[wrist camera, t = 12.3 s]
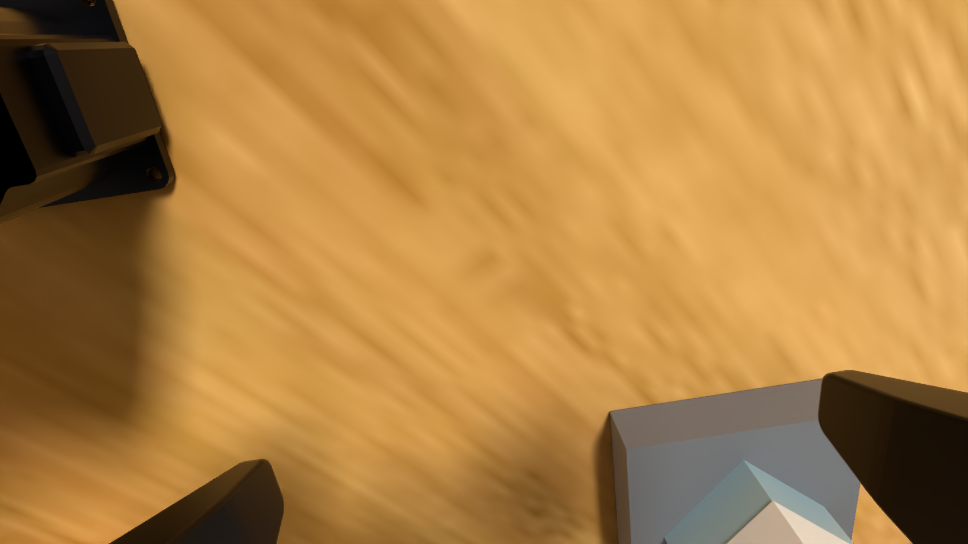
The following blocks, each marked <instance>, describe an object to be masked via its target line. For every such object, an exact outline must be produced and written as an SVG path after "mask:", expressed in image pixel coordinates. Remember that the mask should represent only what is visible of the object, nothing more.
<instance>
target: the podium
mask: <svg viewBox="0 0 968 544" xmlns="http://www.w3.org/2000/svg"><path fill="white" fill-rule="evenodd" d="M821 382H822V379H817V380H811V381H804V382H798V383H791V384H785V385H778V386H772V387H765V388H759V389H752V390H746V391H739V392H733V393H726V394H720V395H713V396H707V397H700V398H694V399H687V400H681V401H674V402H668V403H662V404H655V405H649V406H642V407H636V408H629V409H623V410H616V411H610V420H611V436H612V451H613V467H614V482H615V498H616V513H617V529H618V544H667V542H666V540H665V536H666V535H667V534H668V533H669V532H670V531H671V530H672V529H673V528H674V527H675V526H676V525H677V524H678V523H679V522H680V521H681V520H682V519H683V518H684V517H685V516H686V515H687V514H688V513H689V512H690V511H691V510H692V509H694V508H695V507H696V506H697V505H698V504H699V503H700V502H701V501H702V500H703V499H704V498H705V497H706V496H707V495H708V494H709V493H710V492H711V491H712V490H713V489H714V488H715V487H716V486H717V485H718V484H719V483H720V482H721V481H722V480H723V479H724V478H725V477H726V476H727V475H728V474H729V473H730V472H731V471H732V470H733V469H734V468H735V467H736V466H737V465H738V464H739V463H740V462H741V461H742V460H745V461H747V462H748V463H750V464H752V465H753V466H755V467H757V468H759V469H760V470H762V471H764V472H765V473H767V474H769V475H771V476H772V477H774V478H776V479H778V480H779V481H781V482H783V483H784V484H786V485H788V486H790V487H791V488H793V489H795V490H796V491H798V492H800V493H802V494H803V495H805V496H807V497H808V498H810V499H812V500H814V501H815V502H817V503H819V504H821V505H822V506H824V507H825V508H826V510H827V511H828V512H829V513H830V515H831V516H832V517H833V518H834V519H835V521H836V522H837V523H838V524H839V526H840V527H841V528H842V529H843V531H844V532H845V533H846V534H847V536H848V537H849V538H850V539H852V533H853V526H854V520H855V514H856V507H857V501H858V495H859V488H860V481H859V480H858V479H857V477H856V476H855V475H854V473H853V472H852V471H851V469H850V468H849V467H848V465H847V464H846V463H845V461H844V460H843V459H842V457H841V456H840V455H839V453H838V452H837V451H836V449H835V448H834V447H833V445H832V444H831V443H830V441H829V440H828V439H827V437H826V436H825V435H824V433H823V431H822V430H821V427H820V425H819V421H818V408H819V399H820V390H821Z"/></svg>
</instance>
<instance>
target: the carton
mask: <svg viewBox="0 0 968 544" xmlns="http://www.w3.org/2000/svg"><path fill="white" fill-rule="evenodd" d="M665 540H666V542H667V544H854V543H853V542H852V541H851V539H850V538H849V537H848V536H847V534H846V533H845V532H844V531H843V529H842V528H841V527H840V526H839V524H838V523H837V522H836V521H835V519H834V518H833V517H832V516H831V515H830V513H829V512H828V511H827V510H826V508H825V507H824V506H822V505H821V504H819V503H817V502H815V501H814V500H812V499H810V498H808V497H807V496H805V495H803V494H802V493H800V492H798V491H796V490H795V489H793V488H791V487H790V486H788V485H786V484H784V483H783V482H781V481H779V480H778V479H776V478H774V477H772V476H771V475H769V474H767V473H765V472H764V471H762V470H760V469H759V468H757V467H755V466H753V465H752V464H750V463H748V462H747V461H745V460H742V461H741V462H740V463H739V464H738V465H737V466H736V467H735V468H734V469H733V470H732V471H731V472H730V473H729V474H728V475H727V476H726V477H725V478H724V479H723V480H722V481H721V482H720V483H719V484H718V485H717V486H716V487H715V488H714V489H713V490H712V491H711V492H710V493H709V494H708V495H707V496H706V497H705V498H704V499H703V500H702V501H701V502H700V503H699V504H698V505H697V506H696V507H695V508H694V509H692V510H691V511H690V512H689V513H688V514H687V515H686V516H685V517H684V518H683V519H682V520H681V521H680V522H679V523H678V524H677V525H676V526H675V527H674V528H673V529H672V530H671V531H670V532H669V533H668V534H667V535H666V536H665Z"/></svg>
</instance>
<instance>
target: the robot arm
mask: <svg viewBox="0 0 968 544" xmlns="http://www.w3.org/2000/svg"><path fill="white" fill-rule="evenodd" d="M161 126H162V122H161V120H160V117H159V114H158V111H157V108H156V106H155V103H154V100H153V97H152V94H151V92H150V89H149V86H148V83H147V80H146V78H145V75H144V72H143V69H142V67H141V64H140V61H139V58H138V55H137V53H136V50H135V49H134V48H133V47H132V46H130V45H129V44H128V43H127V40H126V38H125V35H124V32H123V29H122V27H121V24H120V21H119V18H118V16H117V13H116V10H115V7H114V5H113V2H112V0H96V3H95V5H94V6H91V5H89V3H88V2H87V0H0V224H1V223H3V222H5V221H8V220H10V219H13V218H15V217H17V216H20V215H22V214H25V213H27V212H29V211H32V210H34V209H37V208H39V207H46V206H52V205H59V204H65V203H72V202H78V201H85V200H91V199H98V198H104V197H111V196H117V195H124V194H130V193H137V192H143V191H150V190H156V189H161V188H163V187H165V186H167V185H169V184H170V183H171V182H172V181H173V179H174V170H173V167H172V165H171V162H170V159H169V156H168V154H167V151H166V148H165V145H164V143H163V140H162V137H161V134H160V132H159V130H160V128H161ZM152 168H156V169H158V170H159V171H160V173H161V176H162V178H161V179H157V178H155V177H154V176H153V174H152ZM818 421H819V425H820V427H821V430H822V431H823V433H824V435H825V436H826V437H827V439H828V440H829V441H830V443H831V444H832V445H833V447H834V448H835V449H836V451H837V452H838V453H839V455H840V456H841V457H842V459H843V460H844V461H845V463H846V464H847V465H848V467H849V468H850V469H851V471H852V472H853V473H854V475H855V476H856V477H857V479H858V480H859V481H860V483H861V484H862V485H863V487H864V488H865V490H866V491H867V492H868V493H869V495H870V496H871V497H872V498H873V500H874V501H875V502H876V503H877V505H878V506H879V507H880V508H881V509H882V510H883V512H884V513H885V514H886V515H887V516H888V517H889V518H890V519H891V521H892V522H893V523H894V524H895V525H896V526H897V527H898V528H899V529H900V530H901V531H902V532H903V534H904V535H905V536H906V537H907V538H908V539H909V540H910V541H911V542H912V543H913V544H968V393H966V392H961V391H956V390H951V389H946V388H941V387H936V386H931V385H926V384H920V383H915V382H910V381H905V380H900V379H895V378H890V377H885V376H880V375H875V374H870V373H865V372H860V371H854V370H845V371H838V372H832V373H827V374H826V375H825V376H824V377H823V379H822V382H821V390H820V399H819V408H818ZM283 513H284V501H283V496H282V493H281V490H280V488H279V485H278V482H277V480H276V477H275V474H274V471H273V469H272V466H271V464H270V463H269V461H268V460H266V459H257V460H251V461H244V462H242V463H239V464H238V465H236V466H234V467H233V468H231V469H229V470H228V471H226V472H225V473H223V474H221V475H220V476H218V477H216V478H215V479H213V480H212V481H210V482H208V483H207V484H205V485H203V486H202V487H200V488H199V489H197V490H195V491H194V492H192V493H191V494H189V495H187V496H186V497H184V498H182V499H181V500H179V501H178V502H176V503H174V504H173V505H171V506H169V507H168V508H166V509H165V510H163V511H161V512H160V513H158V514H156V515H155V516H153V517H152V518H150V519H148V520H147V521H145V522H144V523H142V524H140V525H139V526H137V527H135V528H134V529H132V530H131V531H129V532H127V533H126V534H124V535H122V536H121V537H119V538H118V539H116V540H114V541H113V542H111V543H109V544H276V543H277V539H278V535H279V530H280V526H281V522H282V518H283Z"/></svg>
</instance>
